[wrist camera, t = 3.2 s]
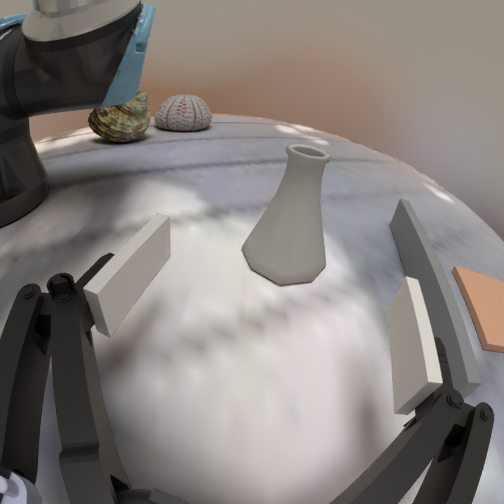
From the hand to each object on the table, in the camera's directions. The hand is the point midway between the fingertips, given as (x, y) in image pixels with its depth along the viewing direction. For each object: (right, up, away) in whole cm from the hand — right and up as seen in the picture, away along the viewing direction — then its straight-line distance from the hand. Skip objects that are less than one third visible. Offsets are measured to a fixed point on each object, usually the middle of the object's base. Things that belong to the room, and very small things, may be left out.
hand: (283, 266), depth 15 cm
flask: (+1, 0, +11) cm, 11 cm away
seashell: (-27, +23, +36) cm, 50 cm away
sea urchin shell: (-18, +29, +47) cm, 58 cm away
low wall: (+14, -3, +9) cm, 17 cm away
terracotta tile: (+26, -6, +8) cm, 28 cm away
